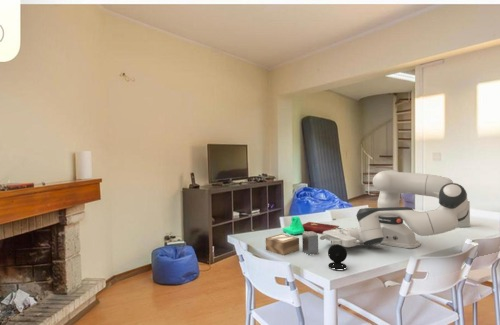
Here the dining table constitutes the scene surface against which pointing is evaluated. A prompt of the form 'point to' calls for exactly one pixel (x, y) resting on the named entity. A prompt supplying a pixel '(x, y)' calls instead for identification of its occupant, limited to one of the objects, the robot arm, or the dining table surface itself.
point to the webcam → (337, 256)
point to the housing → (310, 242)
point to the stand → (282, 244)
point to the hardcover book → (318, 227)
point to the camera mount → (294, 226)
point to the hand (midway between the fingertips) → (325, 240)
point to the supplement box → (467, 220)
